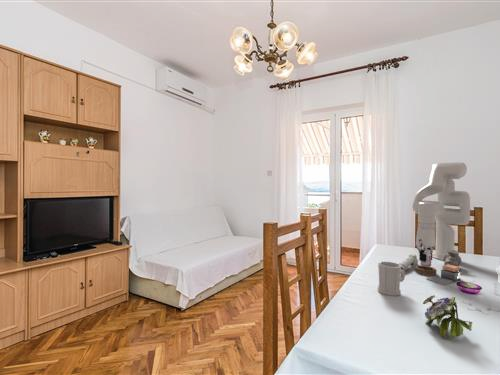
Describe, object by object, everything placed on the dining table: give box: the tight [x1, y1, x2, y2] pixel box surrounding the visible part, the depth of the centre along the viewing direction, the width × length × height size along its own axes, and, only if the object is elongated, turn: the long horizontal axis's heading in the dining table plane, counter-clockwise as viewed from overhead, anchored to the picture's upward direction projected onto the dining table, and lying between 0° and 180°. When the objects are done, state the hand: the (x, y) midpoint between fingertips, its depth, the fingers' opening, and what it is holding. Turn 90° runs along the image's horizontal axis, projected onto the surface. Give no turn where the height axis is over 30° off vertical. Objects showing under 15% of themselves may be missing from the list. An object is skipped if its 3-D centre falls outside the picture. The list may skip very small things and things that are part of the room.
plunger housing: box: [440, 268, 459, 283], centre depth 135 cm, size 6×6×4 cm
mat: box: [426, 275, 455, 286], centre depth 132 cm, size 8×8×1 cm
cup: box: [377, 261, 406, 297], centre depth 118 cm, size 10×9×12 cm
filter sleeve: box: [414, 264, 437, 277], centre depth 144 cm, size 9×9×2 cm
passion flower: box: [422, 295, 473, 340], centre depth 87 cm, size 13×12×14 cm
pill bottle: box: [419, 249, 432, 267], centre depth 144 cm, size 5×5×8 cm
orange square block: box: [442, 264, 460, 272], centre depth 135 cm, size 5×5×5 cm
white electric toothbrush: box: [398, 253, 419, 273], centre depth 152 cm, size 5×7×25 cm
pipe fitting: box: [443, 249, 462, 267], centre depth 151 cm, size 12×8×10 cm
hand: (425, 259), depth 144 cm, fingers closed on pill bottle, 4 cm apart
